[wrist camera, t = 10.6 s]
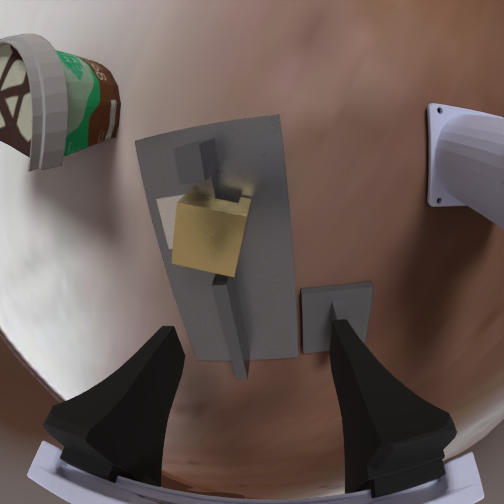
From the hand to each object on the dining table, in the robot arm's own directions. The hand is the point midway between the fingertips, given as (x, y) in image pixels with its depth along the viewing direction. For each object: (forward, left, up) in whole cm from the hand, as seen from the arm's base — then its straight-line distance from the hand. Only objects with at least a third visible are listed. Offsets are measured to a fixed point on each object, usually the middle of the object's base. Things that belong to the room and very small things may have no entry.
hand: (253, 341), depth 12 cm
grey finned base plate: (-6, +8, -10) cm, 14 cm away
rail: (+3, +1, -10) cm, 10 cm away
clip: (+3, -3, -9) cm, 10 cm away
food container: (+12, -15, -10) cm, 22 cm away
